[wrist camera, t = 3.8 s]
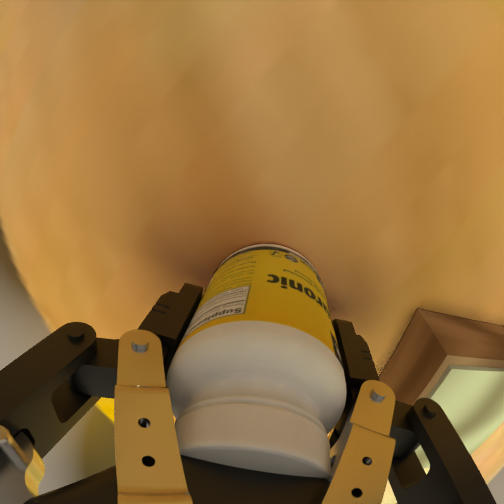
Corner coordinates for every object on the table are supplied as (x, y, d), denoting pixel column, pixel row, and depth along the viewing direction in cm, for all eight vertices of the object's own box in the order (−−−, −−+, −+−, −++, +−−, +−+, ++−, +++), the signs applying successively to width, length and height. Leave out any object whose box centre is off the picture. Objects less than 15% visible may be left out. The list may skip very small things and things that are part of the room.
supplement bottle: (342, 307, 14) (389, 491, 5) (252, 353, 16) (225, 523, 7) (284, 216, 13) (285, 390, 4) (189, 277, 15) (90, 443, 5)
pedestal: (345, 425, 18) (352, 475, 14) (417, 308, 14) (450, 359, 10) (448, 426, 18) (463, 464, 14) (518, 329, 14) (548, 365, 10)
